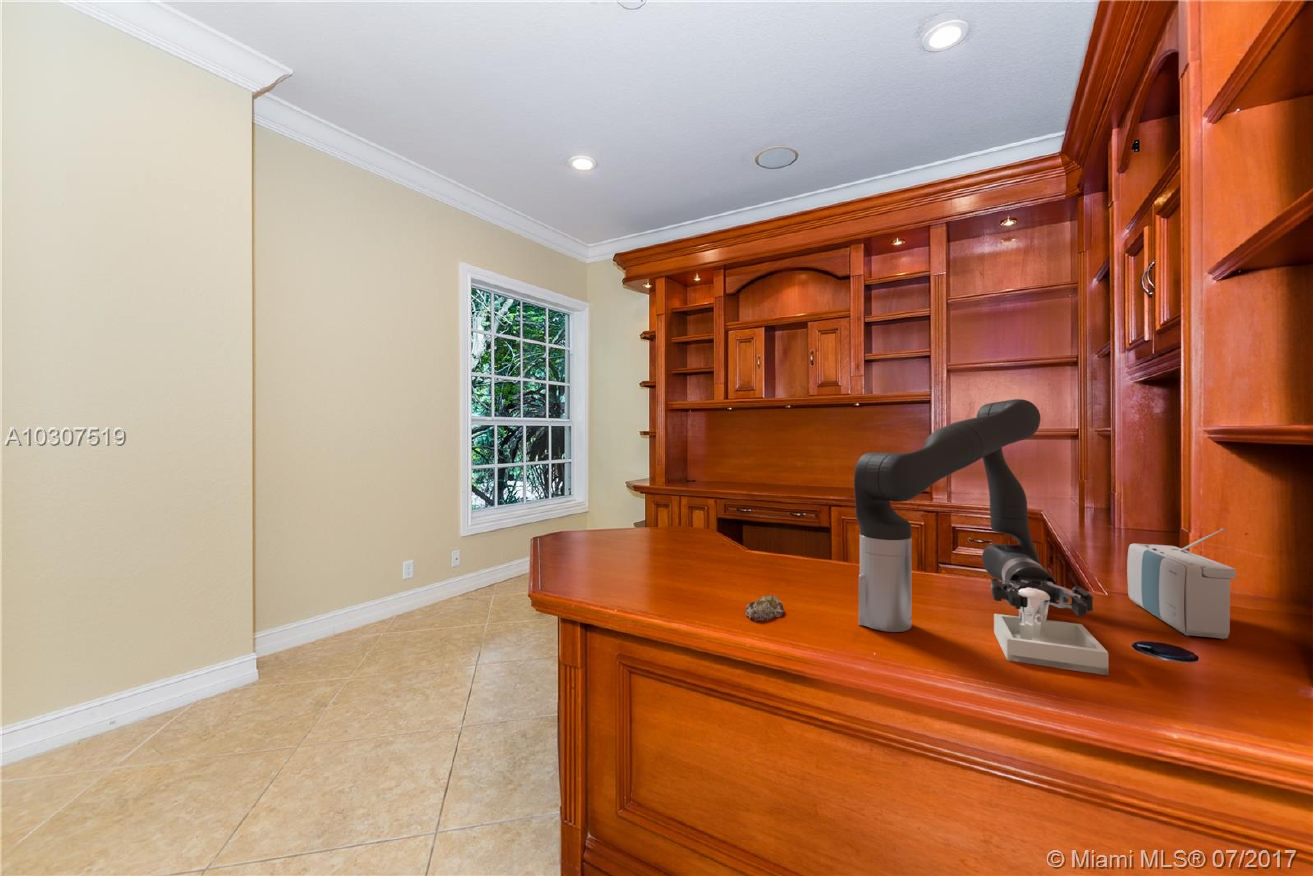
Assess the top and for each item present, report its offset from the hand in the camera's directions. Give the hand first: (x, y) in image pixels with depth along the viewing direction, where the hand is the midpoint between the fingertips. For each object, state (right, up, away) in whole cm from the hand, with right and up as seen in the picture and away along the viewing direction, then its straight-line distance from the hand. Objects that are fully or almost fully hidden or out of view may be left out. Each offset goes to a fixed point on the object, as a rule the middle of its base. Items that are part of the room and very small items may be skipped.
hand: (1049, 606), depth 87 cm
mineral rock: (-43, -9, +21) cm, 49 cm away
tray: (+1, -8, +2) cm, 8 cm away
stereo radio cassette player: (+37, -8, +16) cm, 41 cm away
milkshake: (-1, -7, +3) cm, 8 cm away
